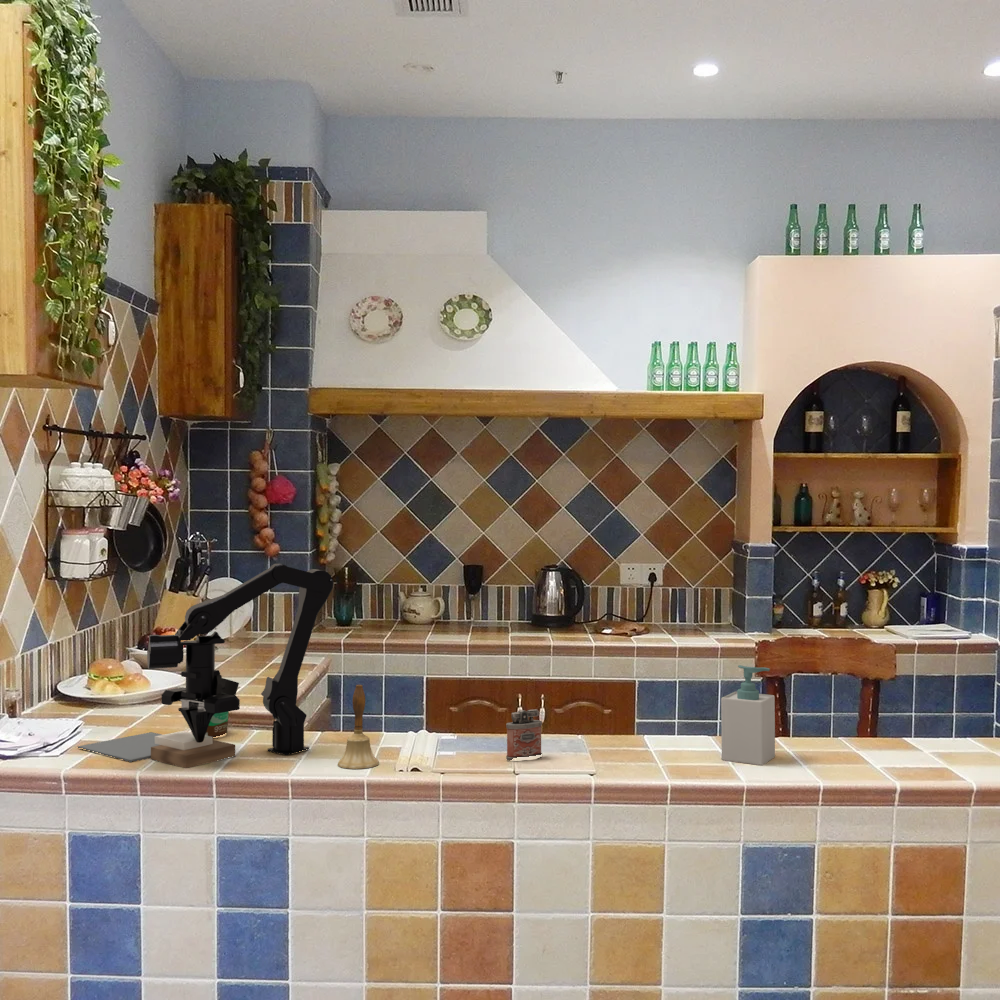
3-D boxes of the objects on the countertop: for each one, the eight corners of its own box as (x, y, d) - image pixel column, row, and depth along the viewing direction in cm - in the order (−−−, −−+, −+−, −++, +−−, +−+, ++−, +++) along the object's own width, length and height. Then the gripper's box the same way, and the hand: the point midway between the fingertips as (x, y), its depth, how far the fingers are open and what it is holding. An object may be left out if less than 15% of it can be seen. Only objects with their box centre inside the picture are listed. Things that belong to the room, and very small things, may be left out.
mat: (204, 746, 216) (204, 743, 216) (130, 762, 202) (130, 759, 202) (151, 734, 228) (151, 732, 228) (77, 748, 214) (77, 746, 214)
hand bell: (339, 759, 204) (339, 682, 205) (380, 759, 205) (380, 681, 205) (335, 770, 196) (336, 688, 196) (378, 769, 197) (378, 688, 197)
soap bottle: (763, 766, 199) (763, 670, 199) (721, 760, 204) (720, 667, 204) (776, 757, 206) (775, 665, 207) (734, 752, 211) (734, 662, 211)
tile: (212, 744, 207) (212, 736, 207) (183, 750, 202) (184, 742, 202) (183, 737, 213) (183, 730, 213) (154, 743, 208) (154, 736, 208)
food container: (216, 742, 220) (216, 697, 220) (190, 741, 221) (191, 696, 221) (241, 731, 232) (241, 688, 232) (217, 729, 233) (217, 687, 233)
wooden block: (235, 756, 207) (235, 744, 207) (185, 768, 197) (186, 755, 197) (199, 748, 214) (200, 736, 214) (150, 759, 204) (150, 747, 205)
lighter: (510, 762, 202) (510, 713, 202) (503, 759, 205) (503, 710, 205) (545, 758, 205) (545, 709, 206) (537, 754, 208) (537, 707, 209)
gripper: (261, 665, 205) (260, 741, 205) (204, 658, 217) (204, 730, 216) (216, 671, 197) (216, 751, 196) (160, 663, 208) (159, 738, 207)
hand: (199, 742), depth 204 cm, fingers closed
